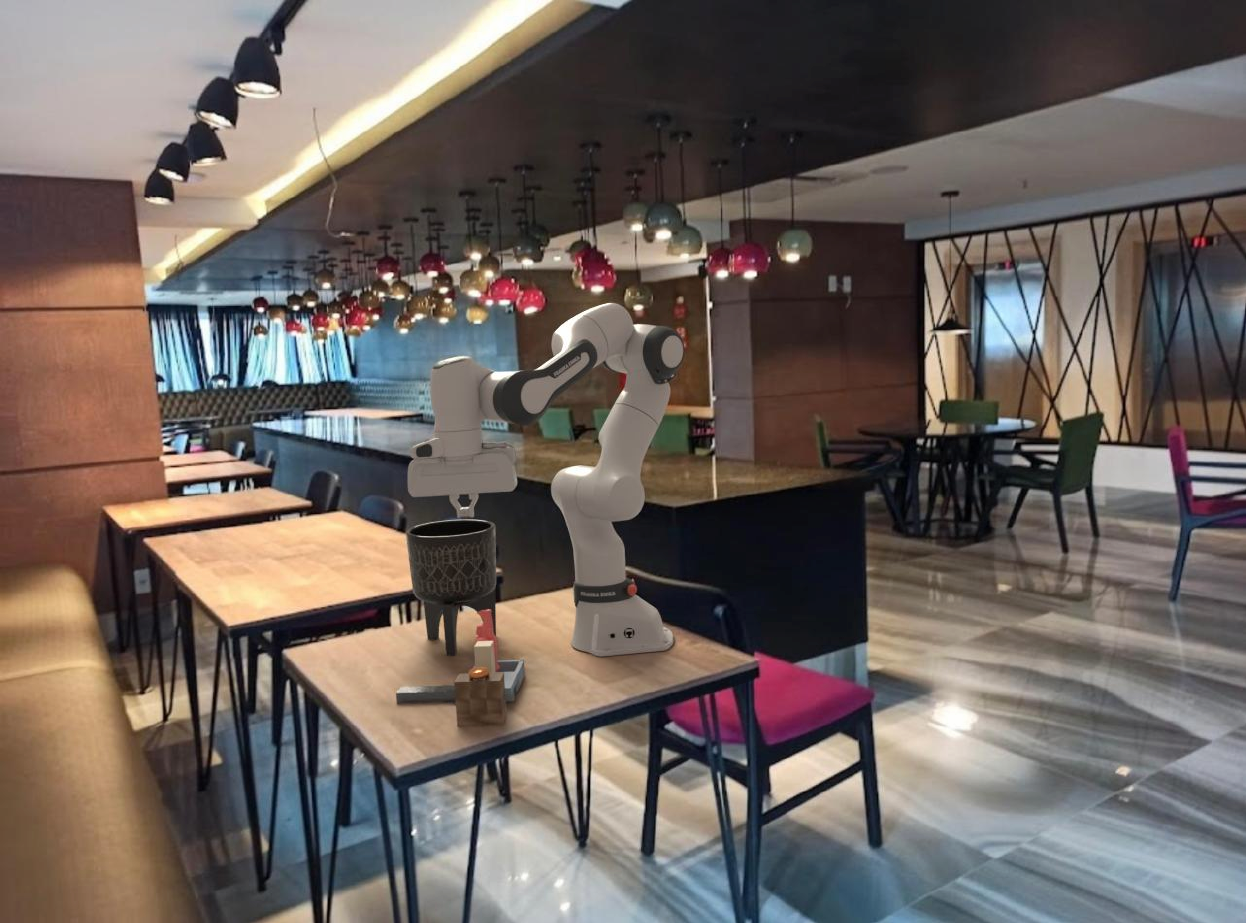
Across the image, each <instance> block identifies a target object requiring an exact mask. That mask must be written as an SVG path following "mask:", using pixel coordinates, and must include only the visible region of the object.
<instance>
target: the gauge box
mask: <svg viewBox="0 0 1246 923" xmlns="http://www.w3.org/2000/svg"><path fill="white" fill-rule="evenodd" d="M453 686H455V700H456V702H455V711H456V712H455V713H456V725H457V727H463V726H465V727H469V726H470V727H473V726H476V727H477V726H503V725H504V722H505V719H506V718H507V704H506V703H507V701H506V699H505V683H504V673H489V676H487V677H486V680H474V681H473V679H472V678H470V677H469V674H468V673H459V674H458V675H457V677H456V678H455V680H454V685H453Z"/></svg>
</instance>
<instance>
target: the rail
mask: <svg viewBox="0 0 1246 923" xmlns="http://www.w3.org/2000/svg"><path fill="white" fill-rule="evenodd" d="M395 696H396V704H412V703H413V704H417V703H420V704H421V703H422V704H423V703H452V702H455V703H456V700H455V686H454V685H429V686H428V685H427V686H426V685H425V686H423V685H422V686H419V685H418V686H399V689H398V690H396V692H395ZM515 696H516V692H515V687H514V697H515Z"/></svg>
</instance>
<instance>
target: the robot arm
mask: <svg viewBox="0 0 1246 923" xmlns="http://www.w3.org/2000/svg"><path fill="white" fill-rule="evenodd" d="M633 321H634V320H633V319H632V317H631V315H630V313H629V311H628V309H626V308H625V306H622V305H621V304H618V303H615V302H608V303H604V304H600V305H597V306H593V307H592V308H591V307H590V308H589V309H586V310H585V311H583V312H580V313H579V314H577V315H575V316H574V317H571V318H570V319H568V320H567V321H565V322H564V323H563V324H561V325H560V326H559V327H558V328H557V329H556V330H555V331H554V332H553V334H552V338H551V351H552V354H553V357H552V358H551V359H549V360H548V361H546V362H545V363H543V364H542V365H541V366H540V367H538V368H536V369H527V370H526V369H524V370H516V371H495V370H494V369H491V368H489V367H485V366H483V365H481V364H479V363H478V362H476V360H475V361H474V359H473V358H472V357H471V356H467V355H459V356H458V355H457V356H455V357H448V358H446V359H445V358H444V359H442V360H439V361H438V362H436V363H435V364H434V365H433V366H432V369H431V371H430V379H429V381H430V382H429V383H430V384H429V386H430V387H429V388H430V389H429V390H430V393H429V394H430V405H431V411H432V412H433V415H434V416H433V417H434V425H433V436H434V437H432V438H428V439H426V440H424V441H423V442H420V443H418V444H415V445H413V446H412V447H411V448H410V449H409V453H410V454H409V455H410V457H411V458H412V459H413V460H411V461H410V462H409V464H408V468H407V491H408V494H409V495H410V496H411V497H413V498H422V497H423V498H424V497H438V496H440V497H441V496H449V502H450V503H451V504H452V507H454V509H455V510H456V518H457V519H468V518H474V516H475V508H474V507H475V505H476V503H477V502H478V500H479V494H487V493H488V494H492V493H502V492H503V493H507V492H508V493H510V492H513V491H514V490H515V489H516V488H517V485H518V478H517V472H516V467H515V464H516V461H517V456H516V455H517V454H516V449H515V447H514V446H513V445H512V444H509V443H508V442H507V441H500V442H484V438H483V437H484V436H483V427H482V422H483V421H485V422H493V423H505V424H506V423H507V424H513V425H518V426H521V427H522V426H524V427H525V426H531V425H533V424H536V423H537V422H539V420H541V419H542V418H543V417H544V415H545V414H546V413H547V411H548V410H549V408H550V406H551V405H552V404H553V403H554V401H555V400H556V399H557V398H558V397H559V396H560V395H561V394H562V393H564V392H565V391H567V390H568V389H569V388H571V387H572V386H573V385H574V384H576V383H577V382H578V381H579V380H581V379H582V378H584V377H585V376H586V375H587V374H588V373H589V372H590V371H591V370H593V369H594V368H596V367H597V366H599V365H600V366H601V367H603V368H604V369H605V370H608V371H610V372H612V373H620V374H621V373H623V374H625V375H626V376H625V378H626V379H625V384H624V388H623V389H622V391H621V393H620V394H619V395H618V397H617V399H616V401H615V402H614V404H613V406H612V408H611V410H610V411H609V414H608V416H607V418H606V420H605V421H604V423H603V425H602V427H601V429H600V430H599V433H598V442H599V444H600V447H601V452H600V457H599V460H598V462H597V464H596V466H591V465H590V466H589V465H583V464H582V465H581V464H579V465H574V466H569V467H565V468H562V469H560V470H559V471H558V472H557V473H556V474H555V476H554V478H553V479H552V482H551V485H550V491H551V492H550V493H551V497H552V499H553V501H554V503H555V504H556V505H557V507H558V508H559V509H560V511H561V513H562V515H563V517H564V520H565V524H566V527H567V529H568V530H567V531H568V532H569V533H568V534H569V536H570V540H571V544H572V549H573V560H574V561H573V562H574V563H573V564H574V576H575V577H574V578H575V580H574V582H573V588H572V591H573V592H572V593H573V603H574V606H575V618H574V619H575V621H574V627H573V634H572V638H571V643H570V645H571V646H572V647H573V648H575V649H576V650H579V651H581V652H586V653H590V654H592V655H593V656H596V657H610V656H621V655H631V654H641V653H652V652H662V651H666V650H669V649H670V648H671V647H672V646H673V644H674V633H673V632H672V631H671V629H670V628H667V627H665V626H664V625H663V621H662V617H661V615H660V613H659V611H658V609H657V608H656V607H654V606H653V605H652V604H650V603H649V602H647V601H646V600H644V599H643V598H641V597H640V596H639V595H637V594H636V593H637V591H638V587H637V585H636V582H635V580H634V578H632V579H630V578H629V577H626V576H627V575H626V555H625V545H624V542H623V539H622V538H621V537H620V536H619V534H618V533H617V531H616V530H615V528H614V526H613V523H615V522H622V521H629V520H632V519H633V518H635V517H636V516H638V515H639V513H640V512H641V511H642V509H643V507H644V504H645V498H646V496H645V494H646V493H645V492H646V491H645V489H644V486H643V484H642V479H641V473H642V466H643V462H644V459H645V456H646V454H647V451H648V450H649V447H650V445H651V443H652V441H653V439H654V437H655V435H656V432H657V430H658V429H659V427H660V424H661V423H662V420H663V417H664V415H665V413H666V410H667V407H668V403H669V400H670V397H671V386H670V383H669V382H671V381H672V380H673V379H674V378H675V377H676V374H677V372H678V371H679V369H680V368H681V365H682V363H683V360H684V358H685V353H686V352H685V344H684V339H683V337H682V335H681V334H680V333H679V331H677V330H675V329H674V328H671V327H668V326H665V325H654V324H653V325H651V324H647V323H646V324H643V323H636V324H634V323H633ZM460 495H468V499H469V500H470V501H471V502H470V503H469V506H463V507H462V505H461V504H460V502H459V501H458V500H459V498H460Z"/></svg>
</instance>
